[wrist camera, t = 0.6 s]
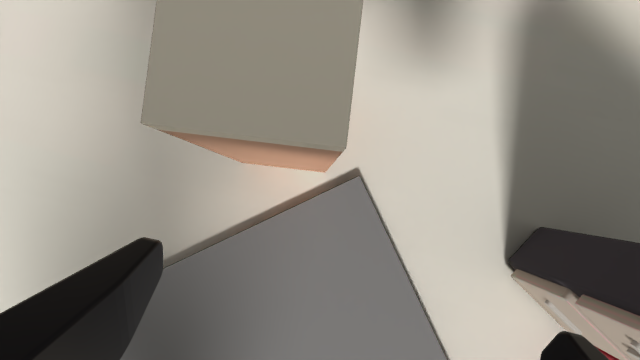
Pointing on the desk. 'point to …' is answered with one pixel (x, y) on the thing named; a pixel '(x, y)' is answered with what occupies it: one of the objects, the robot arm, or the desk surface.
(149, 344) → the grey mat
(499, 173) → the desk surface
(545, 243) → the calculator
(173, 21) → the peach block
